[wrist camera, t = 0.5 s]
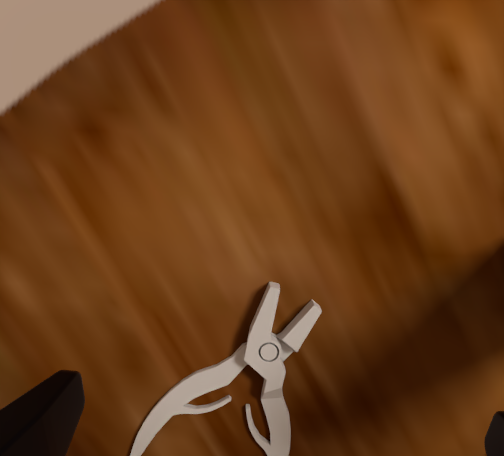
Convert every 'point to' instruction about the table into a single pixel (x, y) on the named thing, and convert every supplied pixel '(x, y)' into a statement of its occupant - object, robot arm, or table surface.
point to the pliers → (252, 353)
